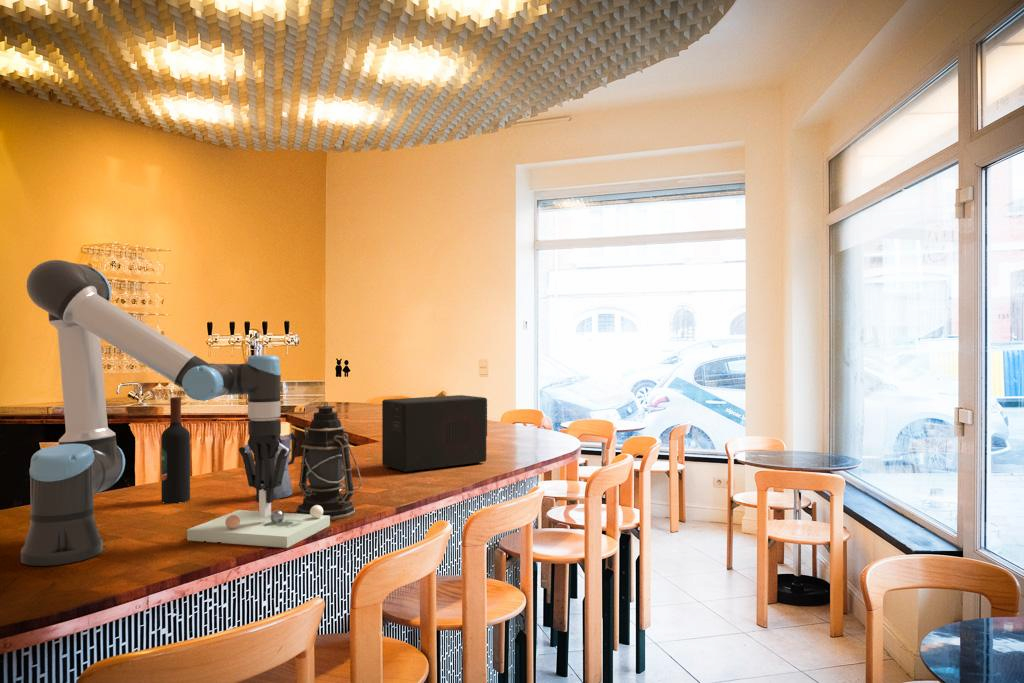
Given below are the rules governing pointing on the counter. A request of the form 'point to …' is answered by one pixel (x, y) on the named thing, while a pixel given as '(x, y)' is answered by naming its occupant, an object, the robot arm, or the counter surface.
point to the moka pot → (286, 468)
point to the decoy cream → (316, 511)
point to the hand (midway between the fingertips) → (265, 515)
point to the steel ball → (277, 516)
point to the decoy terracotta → (232, 522)
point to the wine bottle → (175, 458)
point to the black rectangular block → (433, 432)
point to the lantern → (326, 466)
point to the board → (259, 529)
